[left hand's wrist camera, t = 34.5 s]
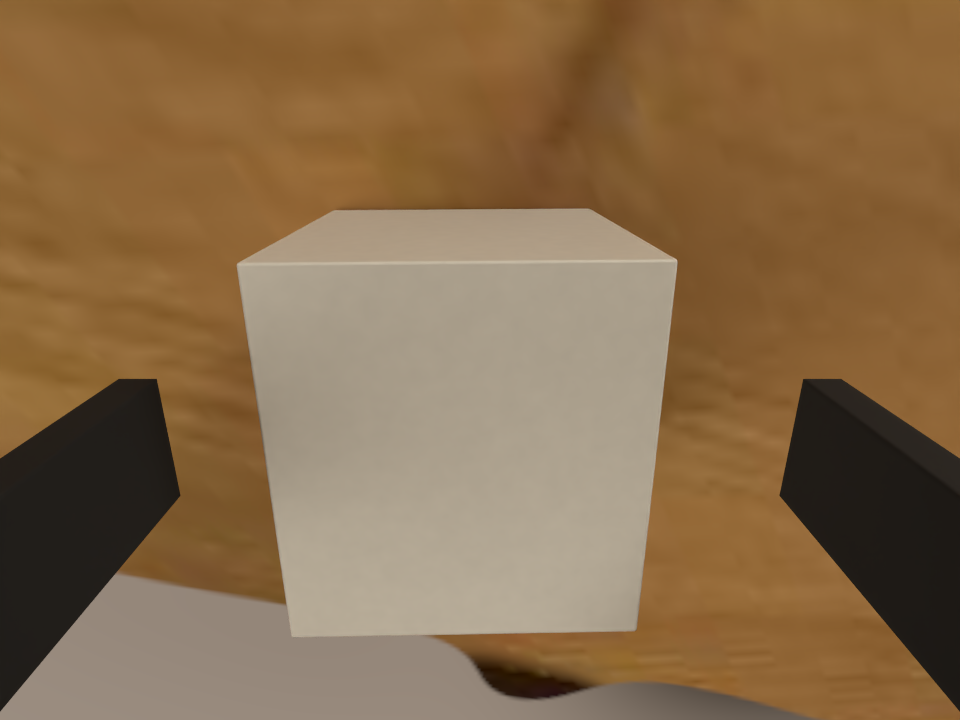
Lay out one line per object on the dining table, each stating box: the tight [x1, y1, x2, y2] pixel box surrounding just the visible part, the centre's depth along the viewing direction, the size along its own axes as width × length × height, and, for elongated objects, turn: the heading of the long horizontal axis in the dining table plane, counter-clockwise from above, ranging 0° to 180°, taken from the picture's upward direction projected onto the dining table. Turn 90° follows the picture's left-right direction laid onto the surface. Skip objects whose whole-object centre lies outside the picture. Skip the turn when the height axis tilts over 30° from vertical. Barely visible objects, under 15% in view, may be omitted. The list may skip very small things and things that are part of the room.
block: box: [237, 209, 678, 638], centre depth 15 cm, size 7×8×8 cm
